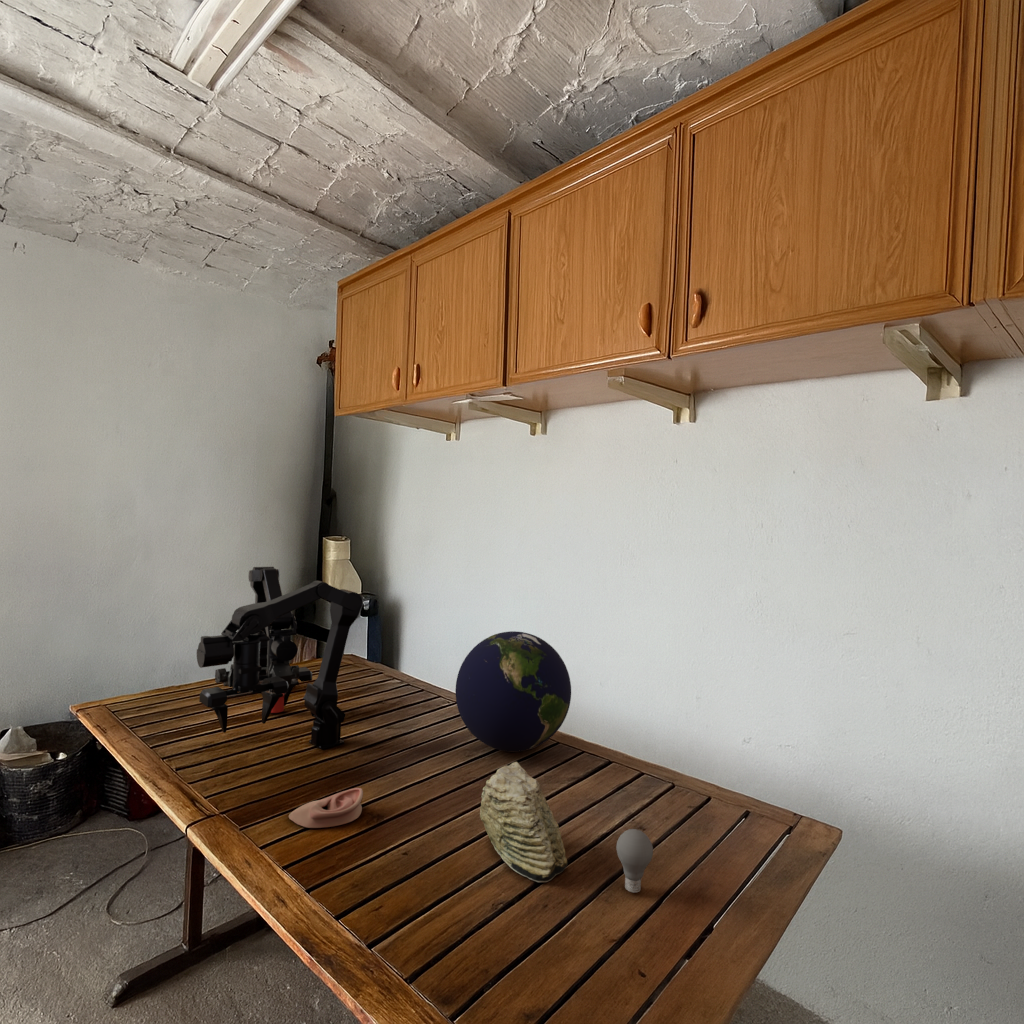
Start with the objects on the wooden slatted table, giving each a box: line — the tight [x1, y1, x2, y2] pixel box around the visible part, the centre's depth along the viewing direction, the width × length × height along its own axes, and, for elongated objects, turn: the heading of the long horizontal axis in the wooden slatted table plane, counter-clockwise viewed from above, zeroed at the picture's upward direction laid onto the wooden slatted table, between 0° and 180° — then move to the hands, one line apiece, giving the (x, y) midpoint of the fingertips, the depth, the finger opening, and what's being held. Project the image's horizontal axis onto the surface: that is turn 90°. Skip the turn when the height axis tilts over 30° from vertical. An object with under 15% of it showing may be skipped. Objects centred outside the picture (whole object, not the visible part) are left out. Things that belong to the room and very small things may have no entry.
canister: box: [270, 693, 285, 714], centre depth 182 cm, size 4×4×4 cm
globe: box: [454, 630, 572, 753], centre depth 164 cm, size 30×30×30 cm
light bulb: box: [615, 828, 654, 894], centre depth 106 cm, size 6×6×10 cm
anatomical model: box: [288, 787, 364, 829], centre depth 126 cm, size 13×4×12 cm
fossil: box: [479, 761, 569, 883], centre depth 114 cm, size 9×18×15 cm, turn 46°
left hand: (275, 706), depth 183 cm, fingers closed on canister, 4 cm apart
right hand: (244, 727), depth 148 cm, fingers open, 9 cm apart
